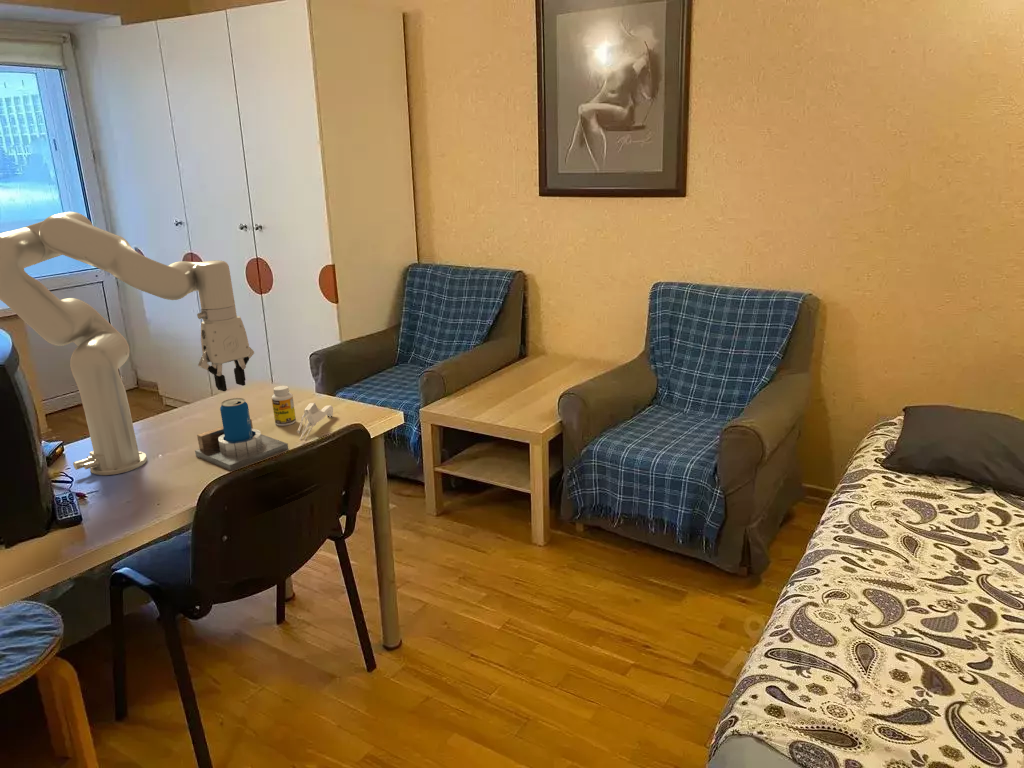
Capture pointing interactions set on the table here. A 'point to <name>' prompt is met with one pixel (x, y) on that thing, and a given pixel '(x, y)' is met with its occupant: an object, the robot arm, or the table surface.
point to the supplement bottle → (283, 406)
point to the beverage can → (236, 420)
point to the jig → (236, 448)
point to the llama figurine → (314, 416)
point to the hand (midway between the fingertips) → (231, 386)
